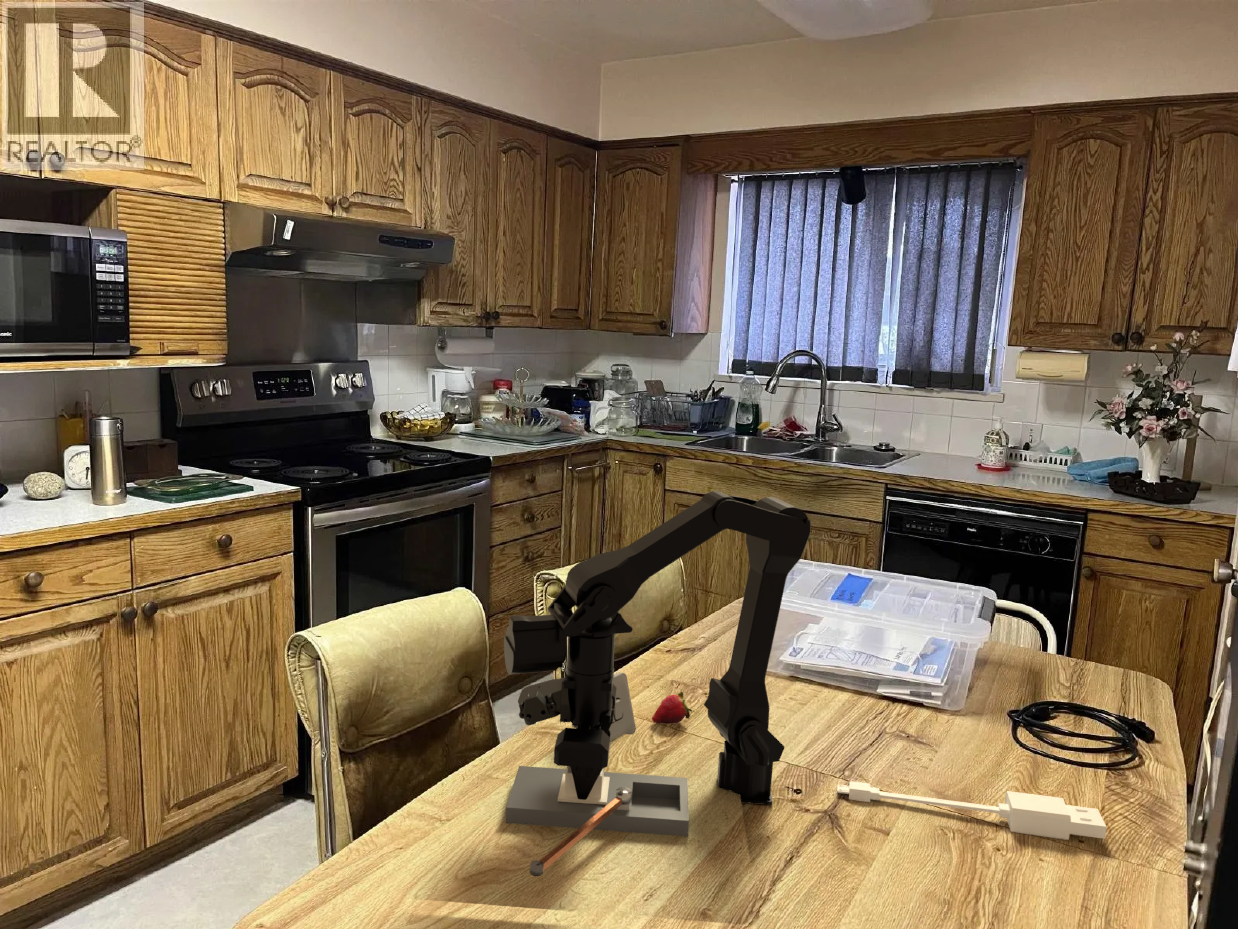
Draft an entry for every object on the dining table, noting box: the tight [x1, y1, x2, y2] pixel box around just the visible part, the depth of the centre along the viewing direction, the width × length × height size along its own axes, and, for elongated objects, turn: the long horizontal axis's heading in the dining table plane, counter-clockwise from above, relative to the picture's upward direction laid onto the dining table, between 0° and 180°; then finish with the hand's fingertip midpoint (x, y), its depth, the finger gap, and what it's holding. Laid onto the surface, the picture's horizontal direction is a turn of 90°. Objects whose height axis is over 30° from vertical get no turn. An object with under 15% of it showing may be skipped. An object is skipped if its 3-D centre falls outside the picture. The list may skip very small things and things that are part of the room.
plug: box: [558, 766, 610, 805], centre depth 114 cm, size 6×6×6 cm
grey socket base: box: [505, 765, 690, 837], centre depth 114 cm, size 22×10×4 cm, turn 87°
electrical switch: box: [607, 672, 637, 742], centre depth 134 cm, size 9×5×9 cm, turn 141°
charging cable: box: [836, 780, 1107, 841], centre depth 119 cm, size 5×32×3 cm, turn 76°
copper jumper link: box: [529, 787, 632, 877], centre depth 104 cm, size 19×2×1 cm, turn 148°
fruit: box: [651, 691, 693, 725], centre depth 140 cm, size 4×6×5 cm
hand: (584, 784), depth 114 cm, fingers open, 7 cm apart
